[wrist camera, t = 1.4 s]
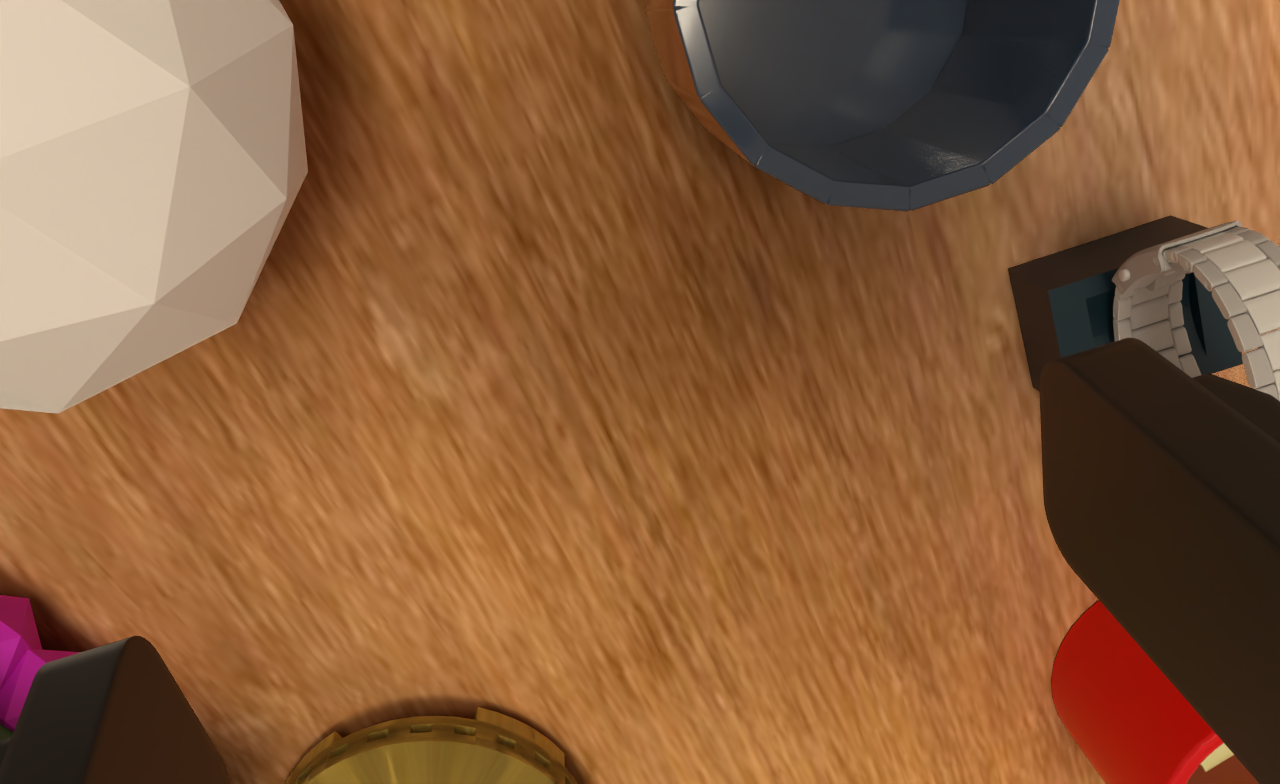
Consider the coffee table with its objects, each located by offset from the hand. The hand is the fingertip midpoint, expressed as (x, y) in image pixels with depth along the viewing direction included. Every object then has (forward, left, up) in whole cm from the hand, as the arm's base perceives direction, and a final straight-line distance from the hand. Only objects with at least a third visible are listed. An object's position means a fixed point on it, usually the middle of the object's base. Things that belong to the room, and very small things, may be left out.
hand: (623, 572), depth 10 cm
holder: (-6, +7, -26) cm, 28 cm away
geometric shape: (-1, -14, -27) cm, 30 cm away
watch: (+3, +18, -27) cm, 32 cm away
